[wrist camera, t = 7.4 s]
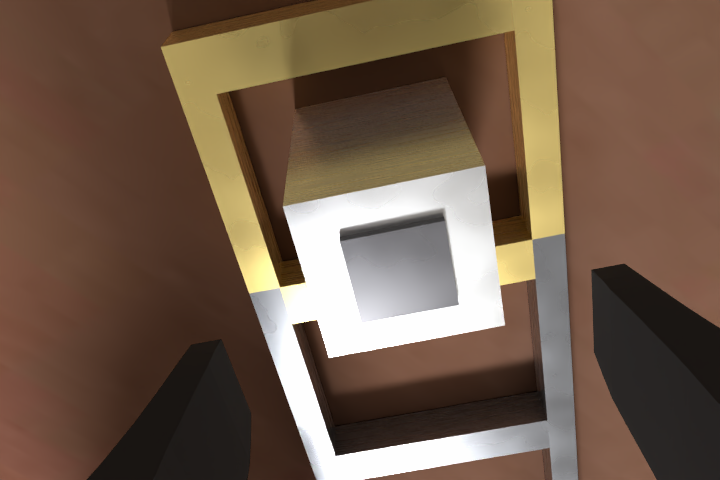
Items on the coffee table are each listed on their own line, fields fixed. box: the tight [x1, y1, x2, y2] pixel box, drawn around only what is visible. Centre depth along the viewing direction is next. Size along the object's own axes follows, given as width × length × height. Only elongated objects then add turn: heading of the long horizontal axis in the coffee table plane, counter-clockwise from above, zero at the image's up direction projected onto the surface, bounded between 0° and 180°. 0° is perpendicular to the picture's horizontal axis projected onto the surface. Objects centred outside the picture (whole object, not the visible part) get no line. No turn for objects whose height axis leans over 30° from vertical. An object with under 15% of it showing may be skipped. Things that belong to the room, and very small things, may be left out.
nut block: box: [283, 77, 505, 358], centre depth 19 cm, size 4×4×6 cm
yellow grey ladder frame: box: [161, 0, 578, 480], centre depth 24 cm, size 10×26×2 cm, turn 11°
